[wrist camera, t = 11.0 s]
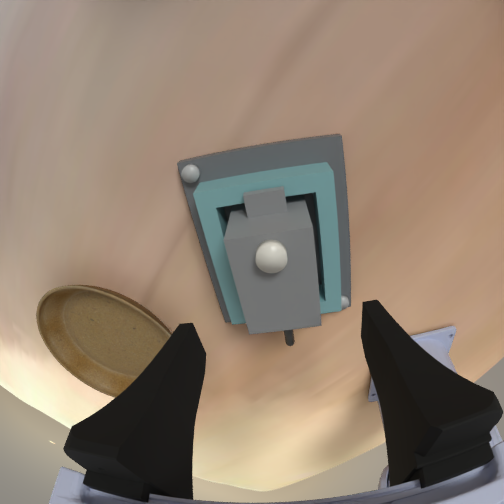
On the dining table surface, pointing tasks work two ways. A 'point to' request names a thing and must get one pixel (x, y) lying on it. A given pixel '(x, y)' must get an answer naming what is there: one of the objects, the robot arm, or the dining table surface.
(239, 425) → the dining table surface
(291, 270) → the block
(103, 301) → the plant saucer
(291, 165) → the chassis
